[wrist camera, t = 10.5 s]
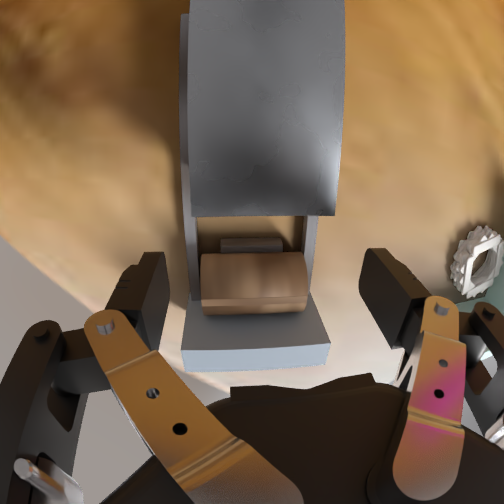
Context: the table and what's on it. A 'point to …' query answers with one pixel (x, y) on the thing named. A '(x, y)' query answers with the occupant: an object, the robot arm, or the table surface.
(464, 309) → the l-shaped corner panel
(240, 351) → the stop gate
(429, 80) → the table surface
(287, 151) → the slab
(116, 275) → the table surface
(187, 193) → the roller bed
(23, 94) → the table surface
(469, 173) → the table surface
